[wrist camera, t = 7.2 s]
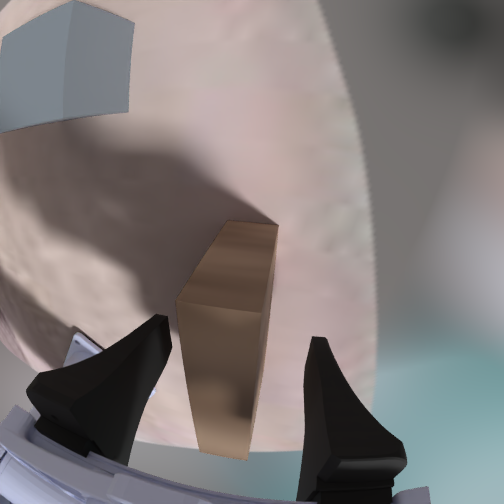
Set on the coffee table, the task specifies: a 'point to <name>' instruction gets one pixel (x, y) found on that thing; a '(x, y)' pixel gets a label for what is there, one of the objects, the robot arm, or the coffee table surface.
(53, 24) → the letter block
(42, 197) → the coffee table surface
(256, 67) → the coffee table surface
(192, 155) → the coffee table surface
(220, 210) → the coffee table surface
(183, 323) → the walnut board
